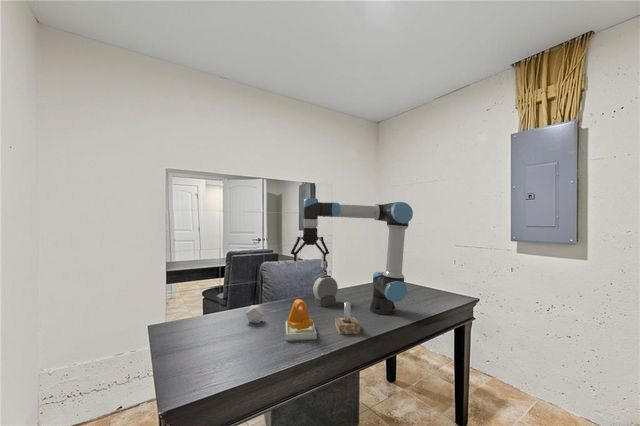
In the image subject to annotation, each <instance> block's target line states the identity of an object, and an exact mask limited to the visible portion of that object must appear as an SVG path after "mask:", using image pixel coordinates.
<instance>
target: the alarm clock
mask: <svg viewBox="0 0 640 426" xmlns="http://www.w3.org/2000/svg"><path fill="white" fill-rule="evenodd" d="M313 284H314V285H313V286H312V291H313V292H312V293H313V296H314V304H315V305H317V306H318V307H330V306H333V305H336V304H337V299H336V296H337V294H338V290H339V289H338V288H339V286H338V282H337V281H336V279H335V278H333V277H332V276H331V275H329V274H323V275H321V276H320V277H318V278H317V279H316V281H315V282H314V283H313Z"/></svg>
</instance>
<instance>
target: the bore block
mask: <svg viewBox="0 0 640 426" xmlns="http://www.w3.org/2000/svg"><path fill="white" fill-rule="evenodd" d="M334 321H335V325H334V326H335V329H336V330H337V332H338V335H347V334H348V335H349V334H350V335H351V334H361V325H360V323H359V321H358V320H357V319H356V318H355V317H353V316H351V323H344V317H335V320H334Z"/></svg>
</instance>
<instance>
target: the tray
mask: <svg viewBox="0 0 640 426" xmlns="http://www.w3.org/2000/svg"><path fill="white" fill-rule="evenodd" d="M284 325H285V340H286V342H288V341H289V342H291V341H292V342H293V341H294V342H295V341H310V340H311V341H312V340H314V341H315V340H317V334H318V333H317V330H316V327H315V323H314V322H313V326H309V328H307V329H301V330H297V329H292V328H291V327H290V326H289V325H288V324H287V320H285V324H284Z"/></svg>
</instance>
